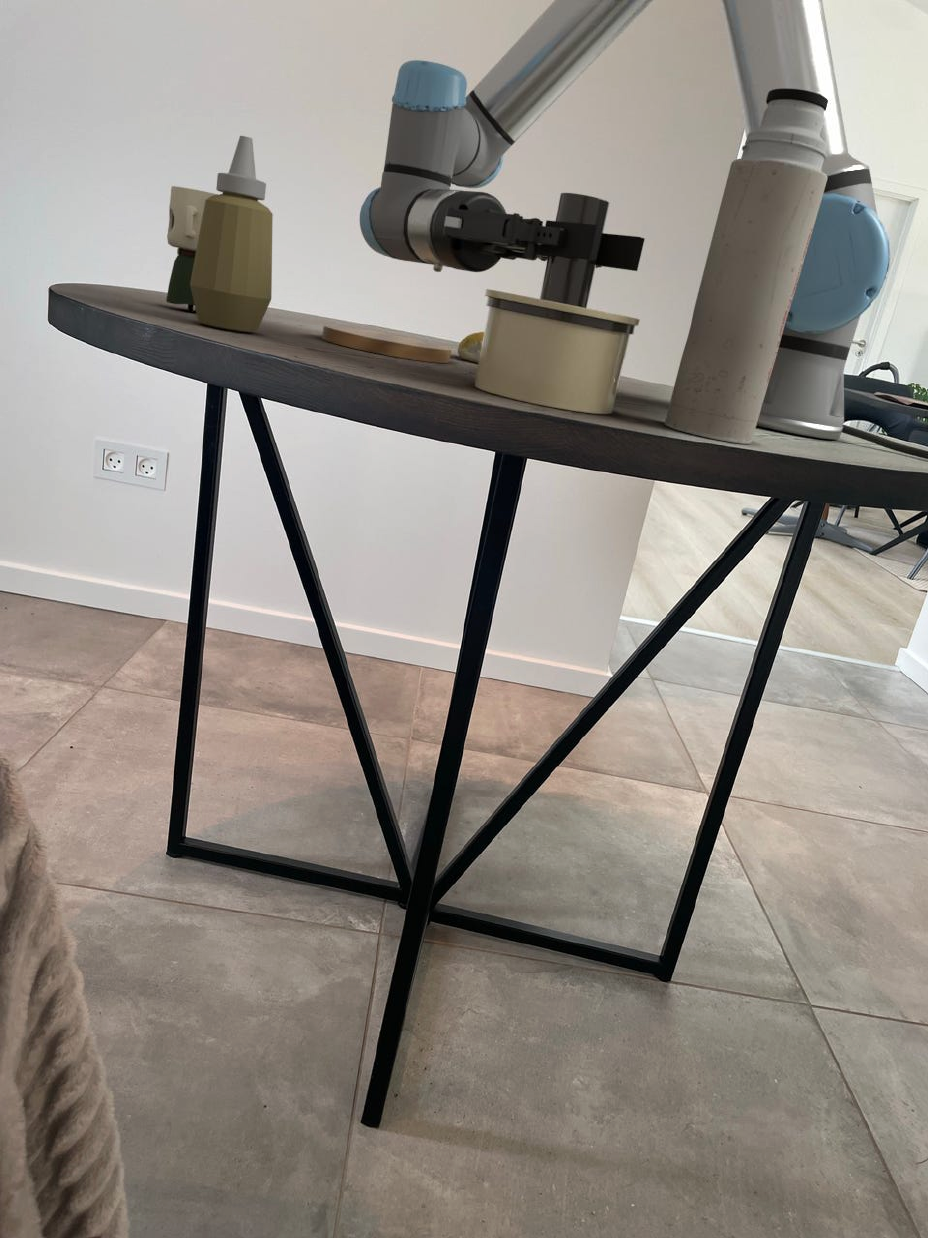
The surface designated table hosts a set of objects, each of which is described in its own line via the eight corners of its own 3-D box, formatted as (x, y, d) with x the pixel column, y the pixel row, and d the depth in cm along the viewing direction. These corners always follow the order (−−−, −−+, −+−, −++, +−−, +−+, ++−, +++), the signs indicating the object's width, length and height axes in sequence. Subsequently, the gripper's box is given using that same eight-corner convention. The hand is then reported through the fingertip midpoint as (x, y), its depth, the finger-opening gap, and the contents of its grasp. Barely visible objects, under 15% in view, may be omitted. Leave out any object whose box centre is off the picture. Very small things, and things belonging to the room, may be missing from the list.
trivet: (448, 357, 116) (450, 345, 116) (450, 367, 102) (453, 353, 102) (328, 334, 115) (330, 322, 114) (314, 341, 101) (316, 327, 100)
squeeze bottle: (279, 339, 95) (302, 147, 89) (203, 328, 90) (221, 124, 84) (249, 328, 101) (268, 147, 95) (175, 317, 96) (191, 126, 90)
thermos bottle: (746, 438, 88) (840, 113, 79) (755, 448, 81) (859, 90, 72) (663, 420, 89) (746, 97, 80) (664, 428, 82) (756, 73, 73)
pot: (601, 403, 95) (619, 322, 92) (628, 422, 82) (651, 328, 79) (468, 378, 93) (483, 295, 91) (474, 393, 80) (492, 297, 78)
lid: (622, 322, 92) (646, 219, 89) (655, 329, 79) (684, 208, 76) (480, 294, 91) (499, 189, 88) (489, 296, 77) (512, 171, 74)
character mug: (178, 305, 114) (187, 191, 110) (235, 316, 114) (246, 203, 110) (147, 306, 104) (156, 180, 100) (210, 318, 104) (222, 193, 100)
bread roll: (528, 369, 122) (534, 338, 121) (509, 370, 114) (516, 337, 113) (470, 356, 124) (475, 326, 123) (447, 356, 116) (453, 324, 115)
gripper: (516, 282, 102) (673, 309, 85) (382, 253, 92) (531, 277, 75) (530, 209, 100) (695, 222, 83) (394, 171, 89) (551, 177, 72)
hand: (617, 248), depth 79 cm, fingers closed on lid, 4 cm apart
